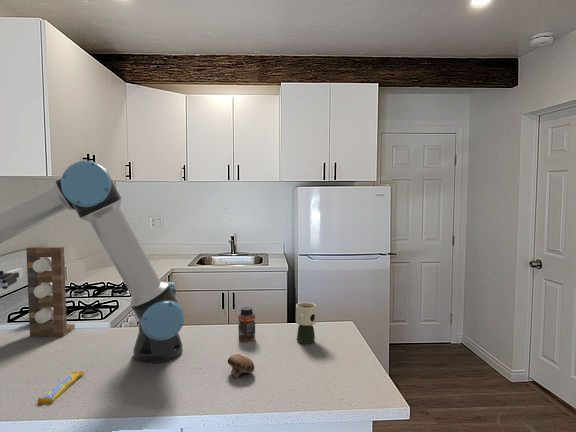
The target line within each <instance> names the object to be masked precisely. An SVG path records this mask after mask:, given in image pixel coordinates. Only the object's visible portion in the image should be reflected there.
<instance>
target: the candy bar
mask: <svg viewBox="0 0 576 432" xmlns="http://www.w3.org/2000/svg"><path fill="white" fill-rule="evenodd" d="M85 373H86V372H85V371H82V370H81V371H78V370H77V371H70V373H69V374H67V375H66V376H65V377H64V378H63V379H62V380H60V381H59V382H58V383H57V384H56V385H55V386H54V387H52V388H51V389H50V390H49V391H48V392H47V393H46V394H45V395H43V396H42V397H38V399H37V403H38V404H39V405H43V404H53V403H54V402H55V401H56V400H57V399H59V398H60V397H61V396H62V395H63V394H64V393H65V392H66V391H67V390H68V389H70V388H72V386H73V385H74V384H75V383H76V382H77V381H78V380H79V379H81V377H82V376H83V375H84V374H85Z"/></svg>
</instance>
